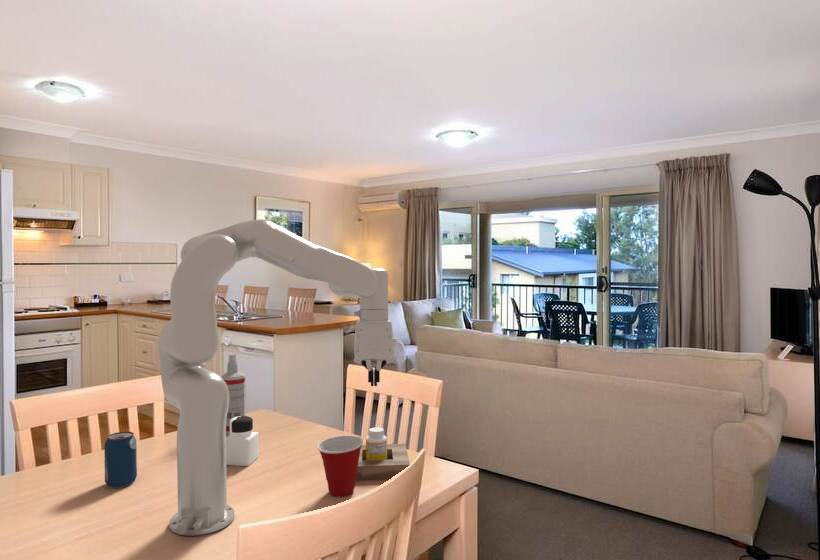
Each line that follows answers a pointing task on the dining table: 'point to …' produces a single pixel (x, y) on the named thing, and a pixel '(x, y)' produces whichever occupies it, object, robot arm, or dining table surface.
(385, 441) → the supplement bottle
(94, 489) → the dining table surface
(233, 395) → the spray bottle
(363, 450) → the square bottle holder
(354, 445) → the plastic cup
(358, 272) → the robot arm
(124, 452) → the soda can
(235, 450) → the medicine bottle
